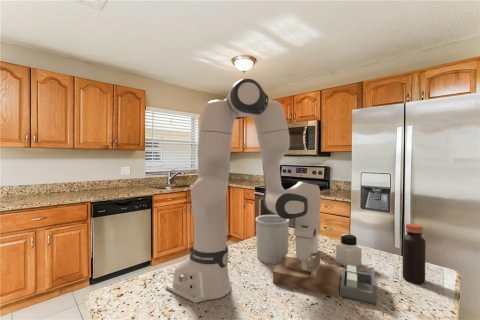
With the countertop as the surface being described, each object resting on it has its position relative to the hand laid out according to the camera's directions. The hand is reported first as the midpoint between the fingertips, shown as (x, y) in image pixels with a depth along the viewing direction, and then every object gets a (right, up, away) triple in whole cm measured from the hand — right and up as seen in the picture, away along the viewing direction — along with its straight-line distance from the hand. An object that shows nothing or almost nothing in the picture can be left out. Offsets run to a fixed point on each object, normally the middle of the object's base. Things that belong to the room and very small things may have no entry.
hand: (307, 263), depth 90 cm
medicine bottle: (+21, -6, +14) cm, 27 cm away
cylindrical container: (+9, -6, +29) cm, 31 cm away
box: (+15, -6, -7) cm, 18 cm away
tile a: (+11, -3, -9) cm, 14 cm away
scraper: (-2, -2, +1) cm, 3 cm away
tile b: (+13, -3, -3) cm, 14 cm away
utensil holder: (-10, -6, +20) cm, 23 cm away
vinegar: (+39, -6, +1) cm, 40 cm away
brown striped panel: (0, -6, 0) cm, 6 cm away
